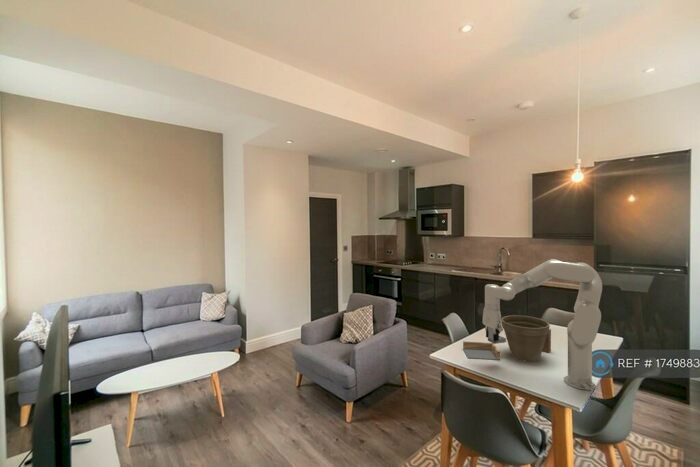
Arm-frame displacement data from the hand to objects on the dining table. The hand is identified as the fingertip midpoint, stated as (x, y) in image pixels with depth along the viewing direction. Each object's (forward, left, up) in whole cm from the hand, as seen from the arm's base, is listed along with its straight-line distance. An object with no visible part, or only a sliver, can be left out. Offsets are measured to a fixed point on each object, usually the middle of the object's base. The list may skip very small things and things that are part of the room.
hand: (492, 338), depth 170 cm
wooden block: (+29, -36, -16) cm, 49 cm away
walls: (+15, +3, -15) cm, 22 cm away
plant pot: (+16, -22, -16) cm, 31 cm away
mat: (+15, +3, -15) cm, 22 cm away
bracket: (+1, -3, -2) cm, 4 cm away
